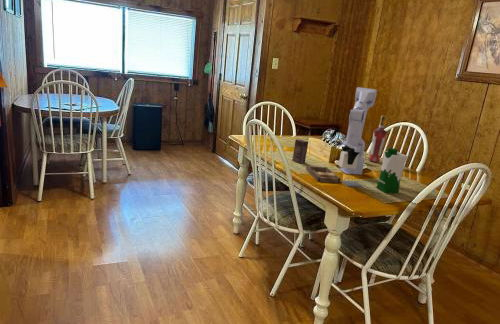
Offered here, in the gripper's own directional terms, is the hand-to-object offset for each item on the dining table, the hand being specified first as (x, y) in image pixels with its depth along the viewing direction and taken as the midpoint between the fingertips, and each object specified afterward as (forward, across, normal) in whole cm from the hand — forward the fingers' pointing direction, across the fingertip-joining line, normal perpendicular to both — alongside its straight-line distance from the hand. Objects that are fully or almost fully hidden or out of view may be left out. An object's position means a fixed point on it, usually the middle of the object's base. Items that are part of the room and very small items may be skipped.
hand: (347, 163), depth 172 cm
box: (+10, -30, -14) cm, 35 cm away
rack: (+9, -8, -9) cm, 15 cm away
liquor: (+10, -43, +38) cm, 58 cm away
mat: (+9, +3, +2) cm, 10 cm away
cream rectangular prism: (+2, 0, 0) cm, 2 cm away
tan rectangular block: (+10, -2, -8) cm, 13 cm away
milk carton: (+10, +9, +18) cm, 22 cm away
